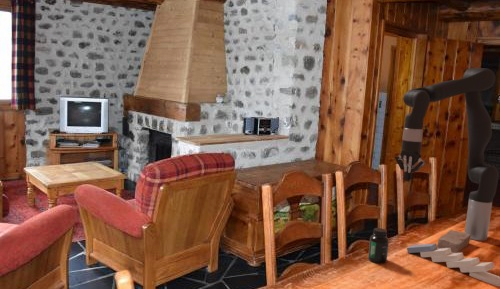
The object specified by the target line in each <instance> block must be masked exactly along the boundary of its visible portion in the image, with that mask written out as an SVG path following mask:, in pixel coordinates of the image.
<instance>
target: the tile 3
mask: <svg viewBox="0 0 500 289" xmlns="http://www.w3.org/2000/svg"><path fill="white" fill-rule="evenodd" d="M430 258H431V262H432V263H443V262H444V263H446V262H449V261H459V260H461V259H463V258H465V256H464V253H463V252H458V253H451V254H449V255H447V256H438V257H430Z"/></svg>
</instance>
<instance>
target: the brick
mask: <svg viewBox="0 0 500 289" xmlns="http://www.w3.org/2000/svg"><path fill="white" fill-rule="evenodd" d="M470 237H471V235H470V234H467V233H465V232H462V231H458V230H453V229H451V230H450V229H449V231H448V232H446V233H445V234H443V235H441V236H440V237H439V238H438V239H437V244H436V245H437V249H441V248H451V252H452V253H460V251H462V250H463V249H464V248H466V247H467V246H468V245H469V243H470V241H471V239H470Z"/></svg>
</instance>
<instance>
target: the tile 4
mask: <svg viewBox="0 0 500 289" xmlns="http://www.w3.org/2000/svg"><path fill="white" fill-rule="evenodd" d="M479 263H481V262H480V258H479V257H466V258H465V257H464V258H463V259H461V260H459V261H449V262H445V264H446V267H447V269H451V268H459V267H471V266H474V265H476V264H479Z"/></svg>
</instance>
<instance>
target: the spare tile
mask: <svg viewBox="0 0 500 289" xmlns="http://www.w3.org/2000/svg"><path fill="white" fill-rule="evenodd" d="M437 245H438V244H437V242H436V243H425V244H424V243H423V244H412V245H411V246H407V247H406V252H407V253H408V254H414V253H420V252H431V251H433V250H435V249H438V248H437Z"/></svg>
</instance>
